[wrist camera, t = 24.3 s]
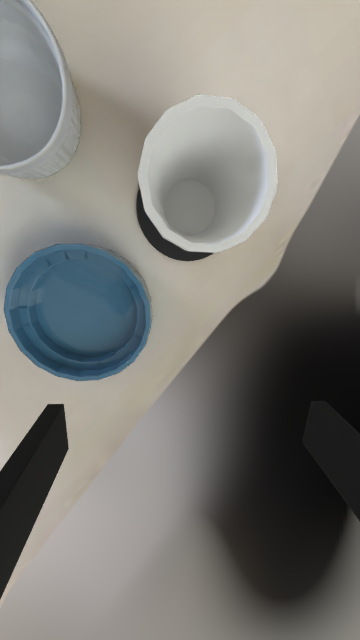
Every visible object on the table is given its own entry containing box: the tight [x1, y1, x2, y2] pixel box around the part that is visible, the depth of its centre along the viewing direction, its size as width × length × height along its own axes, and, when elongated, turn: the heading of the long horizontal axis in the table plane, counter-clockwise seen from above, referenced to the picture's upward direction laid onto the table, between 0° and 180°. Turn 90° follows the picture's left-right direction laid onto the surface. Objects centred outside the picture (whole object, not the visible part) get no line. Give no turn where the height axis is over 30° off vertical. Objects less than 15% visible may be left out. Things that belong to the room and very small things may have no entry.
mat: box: [137, 187, 213, 261], centre depth 29 cm, size 12×12×1 cm
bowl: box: [4, 244, 152, 381], centre depth 30 cm, size 16×16×4 cm
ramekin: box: [0, 0, 81, 179], centre depth 22 cm, size 13×13×7 cm
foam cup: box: [137, 94, 278, 253], centre depth 23 cm, size 10×9×13 cm
